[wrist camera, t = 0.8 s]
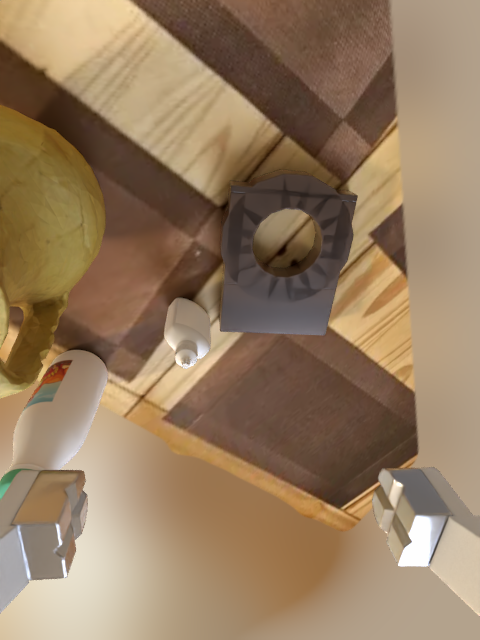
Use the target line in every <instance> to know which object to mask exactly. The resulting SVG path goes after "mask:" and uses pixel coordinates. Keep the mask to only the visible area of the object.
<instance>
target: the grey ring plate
mask: <svg viewBox="0 0 480 640" xmlns="http://www.w3.org/2000/svg"><path fill="white" fill-rule="evenodd" d="M357 197H358V196H357V195H356V194H354V193H352V192H350V191H348V190H336V189H334V188H332V187H331V186H329V185H327V184H326V183H324V182H322V181H320V180H319V179H317V178H315V177H314V176H312V175H310V174H308V173H307V172H301V171H289V170H277V171H274V172H271V173H268V174H265V175H262V176H259V177H256V178H254V179H253V180H251V181H250V182H239V181H229V194H228V208H227V210H226V212H225V214H224V216H223V218H222V221H221V236H220V250H221V255H222V258H223V261H224V263H223V277H222V291H221V304H220V318H219V322H220V331H223V332H251V333H279V334H307V335H325V333H326V329H327V325H328V321H329V316H330V312H331V308H332V304H333V299H334V295H335V291H336V287H337V283H338V278H339V274H340V271H341V269H342V268H343V266H344V265H345V264H346V262H347V260H348V256H349V252H350V248H351V244H352V240H353V230H352V224H351V223H352V219H353V214H354V210H355V206H356V201H357ZM283 209H297V210H301V211H303V212H305V213H307V214H309V215H310V217H311V218H312V220H313V222H314V226H315V231H316V235H315V240H314V245H313V247H312V249H311V250H310V252H309V253H308V255H307V256H306V257H305V258H304V259H303V260H301V261H300V262H299V263H297V264H296V265H293V266H290V267H287V268H272V267H270V266H268V265H266V264H264V263H262V262H261V261H260V260H259V259H258V258H257V257H256V256H255V254H254V253H253V249H252V247H253V238H254V234H255V232H256V230H257V229H258V227H259V225H260V223H261V222H262V221H263V220H264V219H266V218H267V217H268V216H269V215H270V214H272V213H274V212H277V211H280V210H283Z"/></svg>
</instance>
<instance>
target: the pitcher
mask: <svg viewBox="0 0 480 640" xmlns="http://www.w3.org/2000/svg"><path fill="white" fill-rule="evenodd" d="M105 225H106V212H105V205H104V199H103V194H102V192H101V189H100V186H99V184H98V181H97V179H96V177H95V175H94V173H93V170H92V168H91V167H90V165H89V164H88V163H87V162H86V160H85V159H84V157H83V156H82V155H81V153H80V152H79V151H78V150H77V149H76V148H75V147H74V146H72V145H71V144H70V143H69V142H68V141H67V140H65V139H64V138H63V137H62V136H61V135H60V134H59V133H58V132H57V131H56V130H55V129H51V128H48V127H47V126H45V125H44V124H42V123H40V122H37V121H35V120H33V119H31V118H28V117H27V116H25V115H23V114H21V113H19V112H17V111H15V110H13V109H10V108H8V107H5V106H2V105H0V348H1V346H2V344H3V342H4V340H5V338H6V336H7V334H8V327H9V317H10V306H17V307H20V308H21V309H22V310H23V313H24V320H23V323H22V325H21V328H20V331H19V334H18V336H17V339H16V341H15V343H14V345H13V347H12V350H11V352H10V354H9V357H8V359H7V361H6V363H4V362H3V361H2V360H1V358H0V399H1V398H3V397H6V396H9V395H12V394H15V393H19V392H21V391H23V390H25V389H27V388H29V387H30V386H31V385H33V384H34V382H35V381H36V379H37V378H38V375H39V373H40V371H41V369H42V367H43V364H42V362H41V361H42V360H43V359H45V358H46V356H47V354H48V352H49V350H50V348H51V346H52V344H53V342H54V334H53V333H54V331H55V330H56V329H57V327H58V324H59V317H60V316H61V315H62V313H63V312H64V310H65V309H66V308H67V306H68V297H69V292H70V291H71V289H72V288H73V286H74V285H75V284H76V283H77V282H78V281H79V280H80V279H81V278H82V276H83V275H84V274H85V272H86V271H87V270H88V268H89V266H90V265H91V263H92V262H93V260H94V258H95V257H96V256H97V254H98V252H99V249H100V246H101V242H102V237H103V235H104V232H105Z"/></svg>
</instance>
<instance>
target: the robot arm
mask: <svg viewBox="0 0 480 640" xmlns="http://www.w3.org/2000/svg"><path fill="white" fill-rule="evenodd" d="M378 480H379V482H380V484H381V485H380V486H379V487H378V488H377V489H376V490H375V491H374V495H373V499H372V503H373V512H374V516H375V519H376V521H377V523H378V525H379V527H380V528H382V529H383V530H384V531H385V532H386V533H388V537H387V544H388V546H389V548H390V550H391V552H392V554H393V556H394V559H395V561H396V563H397V565H398V566H429V568H430V569H431V570H432V571H433V572H434V573H435V574H436V575H437V576H438V577H439V578H440V579H441V580H442V581H443V582H444V583H445V584H446V585H447V586H448V587H450V588H451V589H452V590H453V591H454V592H455V593H456V594H457V595H458V596H459V597H460V598H461V599H462V600H463V601H464V602H465V603H466V604H467V605H468V606H469V607H470V608H471V609H472V610H473V611H474V612H475V613H476V614H478V615H479V616H480V516H473V514H472V513H471V512H470V511H469V509H468V508H467V507H466V505H465V504H464V503H463V501H462V500H461V499H460V497H459V496H458V495H457V494H456V492H455V491H454V490H453V488H452V487H451V486H450V484H449V483H448V482H447V481H446V479H445V478H444V477H443V476H442V474H441V473H440V471H439V470H437V469H436V468H434V467H429V468H383V469H382V470H381V471H380V473H379V477H378ZM85 482H86V481H85V474H84V471H81V470H21V471H20V472H19V473H18V474H16V476H15V477H14V479H13V481H12V482H11V484H10V486H9V487H8V489H7V491H6V492H5V494H4V496H3V497H2V499H1V500H0V613H1V612H2V611H3V610H4V609H5V608H6V607H7V606H8V605H9V604H10V603H11V601H12V600H13V599H14V598H15V597H16V596H17V595H18V594H19V593H20V592H21V591H22V590H23V588H24V587H25V586H26V585H27V584H28V583H29V581H28V580H42V579H57V578H67V575H68V573H69V570H70V567H71V564H72V561H73V558H74V555H75V552H76V547H75V539H77V538H78V537H79V536H80V535H81V534H82V531H83V528H84V525H85V520H86V515H87V505H88V500H87V494H86V493H85V492H84V491H83V487H84V484H85Z"/></svg>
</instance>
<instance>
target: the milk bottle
mask: <svg viewBox="0 0 480 640" xmlns="http://www.w3.org/2000/svg"><path fill="white" fill-rule="evenodd" d="M107 379H108V371H107V368H106V366H105V364H104V363H103V361H102V360H101V359H100V358H99V357H98V356H96V355H94V354H93V353H90V352H88V351H84V350H70V351H66V352H64V353H61V354H60V355H58V356H57V357H56V358H55V359H54V360H53V362H52V363H51V365H50V366H49V368H48V370H47V371H46V373H45V374H44V376H43V378H42V379H41V381H40V383H39V384H38V386H37V388H36V389H35V391H34V393H33V394H32V396H31V398H30V399H29V401H28V403H27V405H26V407H25V408H24V410H23V412H22V414H21V416H20V418H19V419H18V422H17V425H16V427H15V431H14V437H13V452H14V454H13V461H12V466H11V467H10V468H8V469H7V470H6V472H5V474H4V476H3V477H2V479H1V481H0V500H1V499H2V497H3V496H4V494H5V492H6V491H7V489H8V487H9V486H10V484H11V482H12V481H13V479H14V477H15V476H16V474H18V473H19V472H20V471H21V470H60V468H61V467H63V466H64V465H65V464H66V463H67V462H68V461H69V460H71V459H72V458H73V457H74V456H75V454H76V453H77V452H78V451H79V449H80V448H81V446H82V444H83V443H84V441H85V439H86V436H87V434H88V432H89V429H90V427H91V424H92V421H93V419H94V416H95V414H96V411H97V408H98V405H99V403H100V400H101V397H102V394H103V392H104V389H105V386H106V383H107Z"/></svg>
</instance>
